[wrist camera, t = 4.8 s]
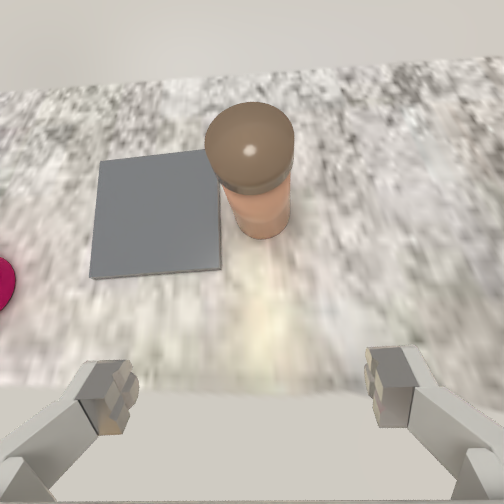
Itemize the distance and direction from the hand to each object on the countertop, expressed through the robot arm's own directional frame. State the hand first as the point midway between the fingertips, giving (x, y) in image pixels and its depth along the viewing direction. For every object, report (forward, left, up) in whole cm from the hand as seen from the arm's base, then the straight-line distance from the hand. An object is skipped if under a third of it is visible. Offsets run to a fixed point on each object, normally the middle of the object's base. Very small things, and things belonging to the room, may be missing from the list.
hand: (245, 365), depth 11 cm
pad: (+10, -13, -16) cm, 23 cm away
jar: (0, -12, -16) cm, 20 cm away
